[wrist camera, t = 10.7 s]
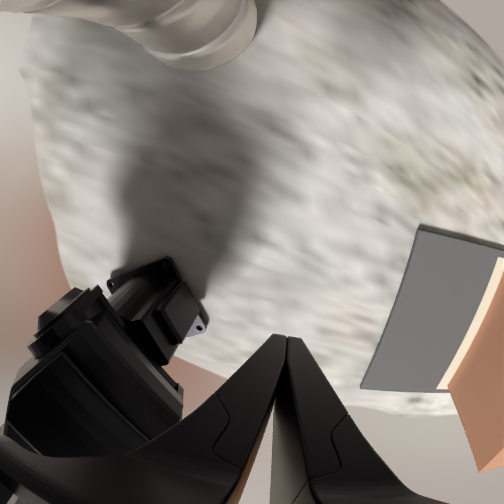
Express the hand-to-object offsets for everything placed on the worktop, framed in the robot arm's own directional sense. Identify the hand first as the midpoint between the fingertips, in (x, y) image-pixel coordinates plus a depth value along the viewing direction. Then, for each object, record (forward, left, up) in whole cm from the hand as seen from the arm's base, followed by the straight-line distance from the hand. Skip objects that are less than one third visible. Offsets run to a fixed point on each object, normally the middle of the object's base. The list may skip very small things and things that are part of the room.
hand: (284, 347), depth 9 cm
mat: (+14, -15, -12) cm, 24 cm away
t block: (+18, -17, -12) cm, 27 cm away
